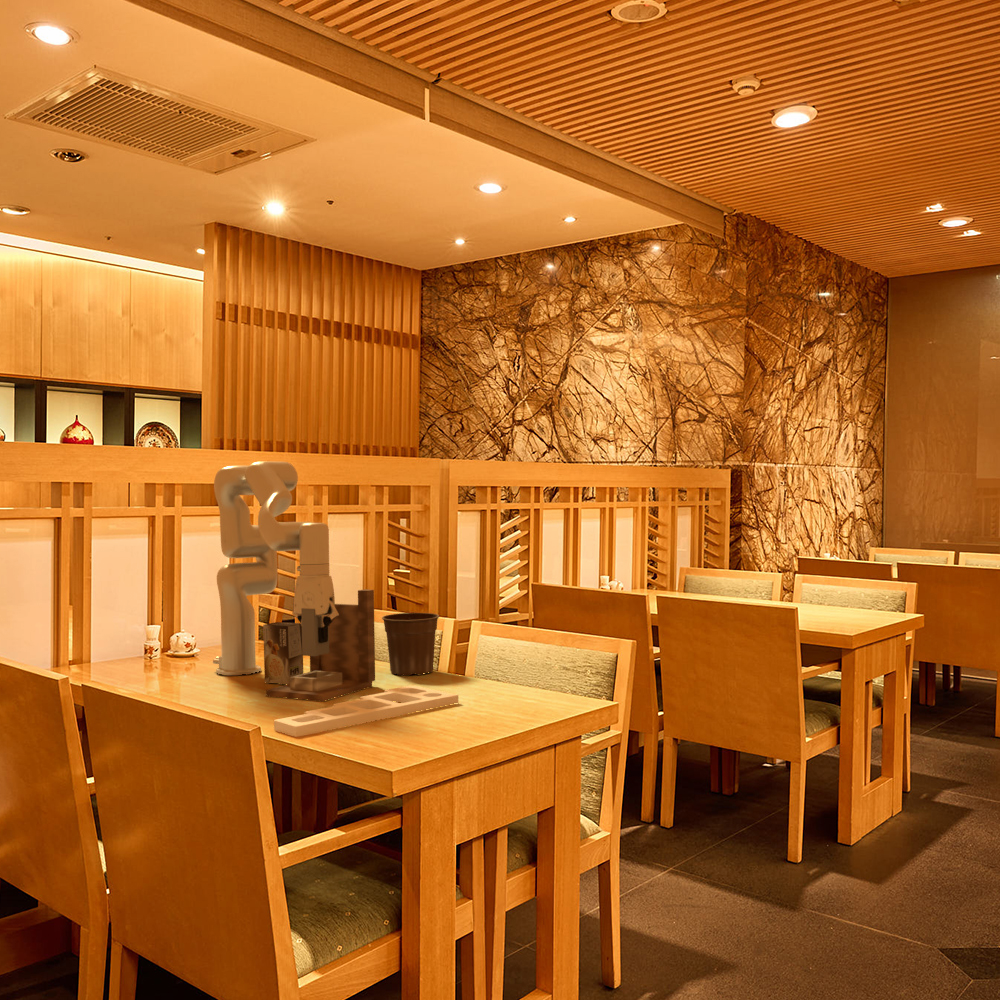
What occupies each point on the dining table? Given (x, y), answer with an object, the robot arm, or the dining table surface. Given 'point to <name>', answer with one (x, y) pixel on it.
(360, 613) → the wooden display stand
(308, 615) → the plain rectangular block
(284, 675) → the coffee box
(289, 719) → the holder
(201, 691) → the dining table surface
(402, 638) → the plant pot
